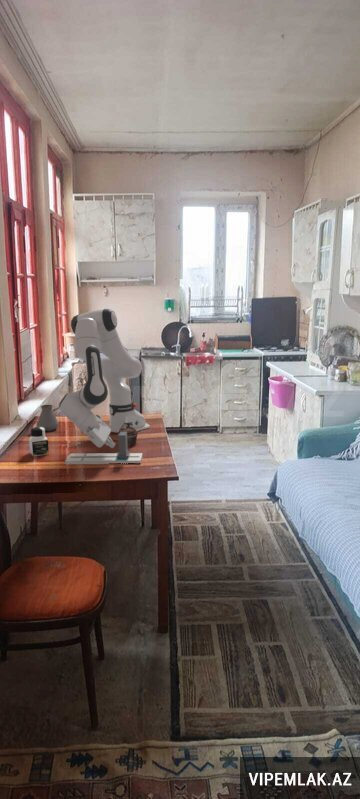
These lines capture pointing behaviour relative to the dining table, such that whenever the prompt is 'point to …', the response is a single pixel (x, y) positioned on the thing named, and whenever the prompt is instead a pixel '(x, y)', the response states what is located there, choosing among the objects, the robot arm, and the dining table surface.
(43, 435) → the medicine bottle
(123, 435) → the fader cap
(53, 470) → the dining table surface
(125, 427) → the cupcake
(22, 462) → the dining table surface
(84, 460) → the console track
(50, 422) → the coffee pot
